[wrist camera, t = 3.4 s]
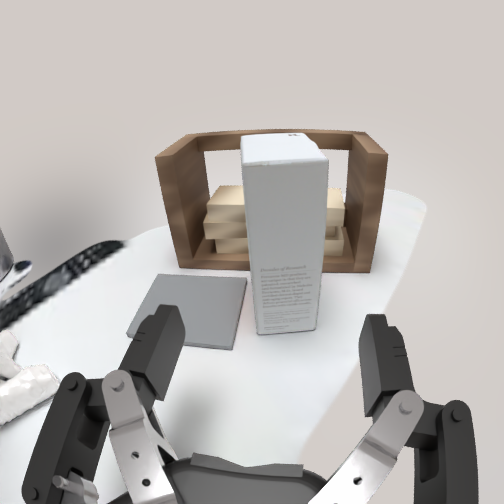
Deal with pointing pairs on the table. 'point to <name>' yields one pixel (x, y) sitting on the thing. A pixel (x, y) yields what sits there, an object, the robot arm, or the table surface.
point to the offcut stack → (234, 221)
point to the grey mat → (198, 307)
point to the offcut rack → (193, 146)
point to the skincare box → (285, 228)
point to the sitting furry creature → (21, 382)
